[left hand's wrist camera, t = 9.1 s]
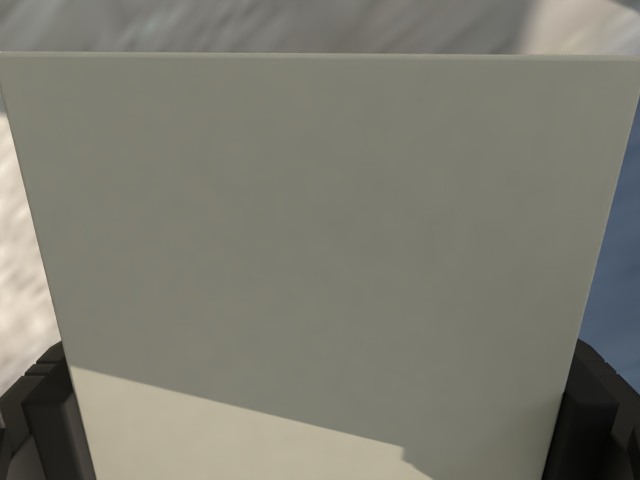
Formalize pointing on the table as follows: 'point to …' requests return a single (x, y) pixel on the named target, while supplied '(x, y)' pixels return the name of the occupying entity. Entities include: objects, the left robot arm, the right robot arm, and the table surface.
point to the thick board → (319, 253)
